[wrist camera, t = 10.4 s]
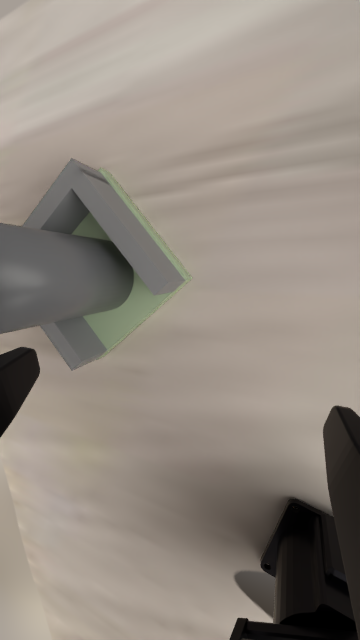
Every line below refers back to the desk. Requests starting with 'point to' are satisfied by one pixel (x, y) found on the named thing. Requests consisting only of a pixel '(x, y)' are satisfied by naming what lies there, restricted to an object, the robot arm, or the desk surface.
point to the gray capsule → (57, 277)
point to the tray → (129, 237)
